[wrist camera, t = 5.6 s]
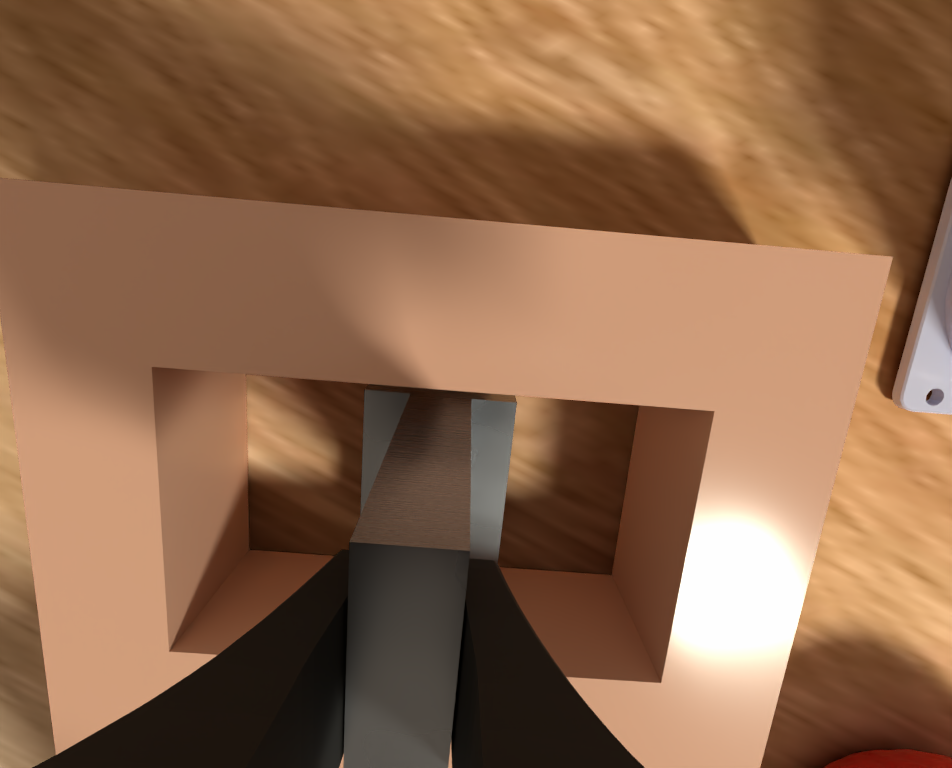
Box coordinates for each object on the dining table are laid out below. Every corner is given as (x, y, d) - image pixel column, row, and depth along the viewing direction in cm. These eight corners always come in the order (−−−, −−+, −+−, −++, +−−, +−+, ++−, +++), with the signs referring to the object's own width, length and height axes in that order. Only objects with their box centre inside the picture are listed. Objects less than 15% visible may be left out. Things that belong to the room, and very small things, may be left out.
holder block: (766, 259, 15) (893, 256, 10) (682, 669, 18) (751, 801, 13) (134, 204, 14) (-18, 176, 10) (162, 635, 17) (56, 761, 13)
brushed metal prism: (513, 389, 14) (558, 557, 7) (495, 542, 16) (517, 828, 8) (373, 378, 14) (257, 534, 7) (367, 533, 16) (265, 813, 8)
